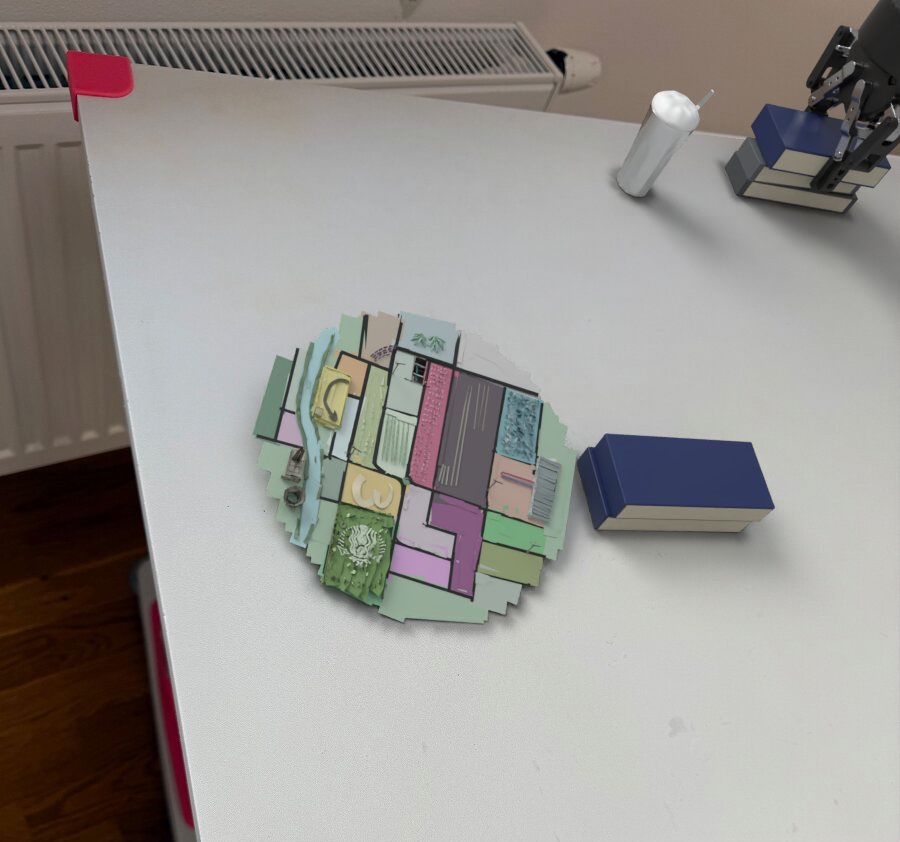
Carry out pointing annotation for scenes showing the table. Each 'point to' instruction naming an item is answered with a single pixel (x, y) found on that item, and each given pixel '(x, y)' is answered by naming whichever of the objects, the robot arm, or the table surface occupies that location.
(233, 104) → the table surface
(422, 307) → the table surface
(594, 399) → the table surface
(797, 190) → the grey stack
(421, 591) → the city model
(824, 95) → the robot arm
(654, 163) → the milkshake
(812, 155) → the navy book
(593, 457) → the navy stack
